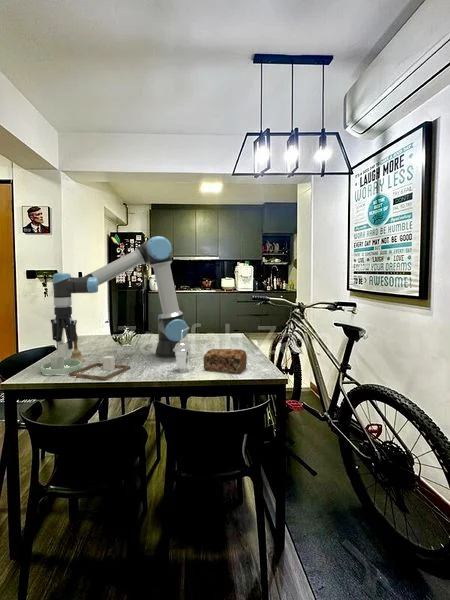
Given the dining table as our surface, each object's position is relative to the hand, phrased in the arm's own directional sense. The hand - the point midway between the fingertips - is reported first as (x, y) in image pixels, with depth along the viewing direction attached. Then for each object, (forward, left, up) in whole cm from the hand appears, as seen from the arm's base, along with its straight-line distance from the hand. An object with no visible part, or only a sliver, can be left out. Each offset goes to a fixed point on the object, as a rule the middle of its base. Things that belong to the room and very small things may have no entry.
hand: (65, 355), depth 169 cm
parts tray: (-18, -3, -8) cm, 19 cm away
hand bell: (+8, -16, -8) cm, 20 cm away
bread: (-71, -25, -8) cm, 76 cm away
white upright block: (-18, -9, -8) cm, 21 cm away
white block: (0, 0, 0) cm, 0 cm away
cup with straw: (-53, -18, -8) cm, 56 cm away
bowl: (+2, 0, -8) cm, 8 cm away
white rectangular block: (+5, 0, -7) cm, 8 cm away
